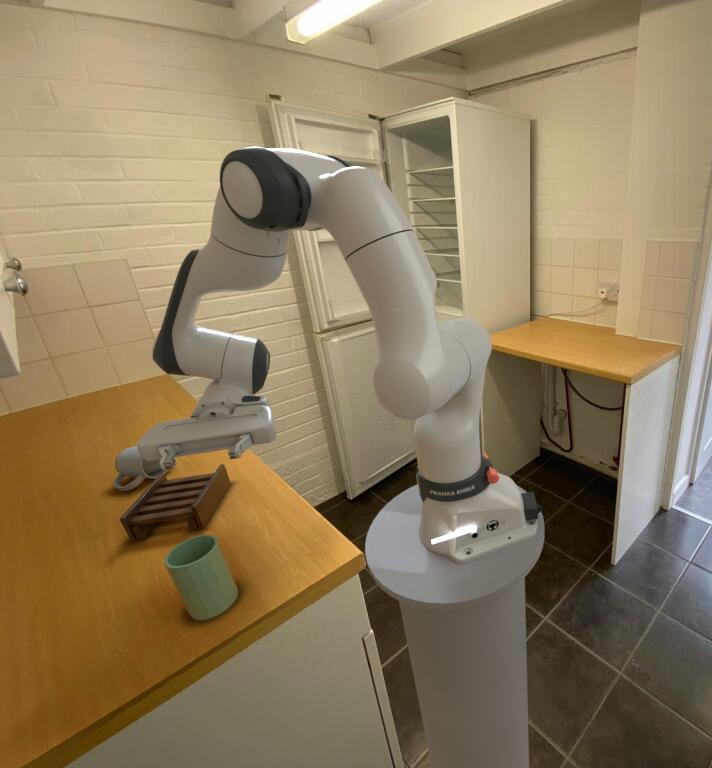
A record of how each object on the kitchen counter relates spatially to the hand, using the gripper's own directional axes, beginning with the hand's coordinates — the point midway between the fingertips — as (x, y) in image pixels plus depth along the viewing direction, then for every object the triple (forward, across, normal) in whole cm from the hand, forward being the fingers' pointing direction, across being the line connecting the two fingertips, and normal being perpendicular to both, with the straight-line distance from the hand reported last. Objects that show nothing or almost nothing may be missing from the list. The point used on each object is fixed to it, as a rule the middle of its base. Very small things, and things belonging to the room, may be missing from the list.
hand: (200, 460), depth 68 cm
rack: (-16, -13, +23) cm, 31 cm away
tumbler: (+12, 0, +19) cm, 23 cm away
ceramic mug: (-33, -26, +25) cm, 49 cm away
